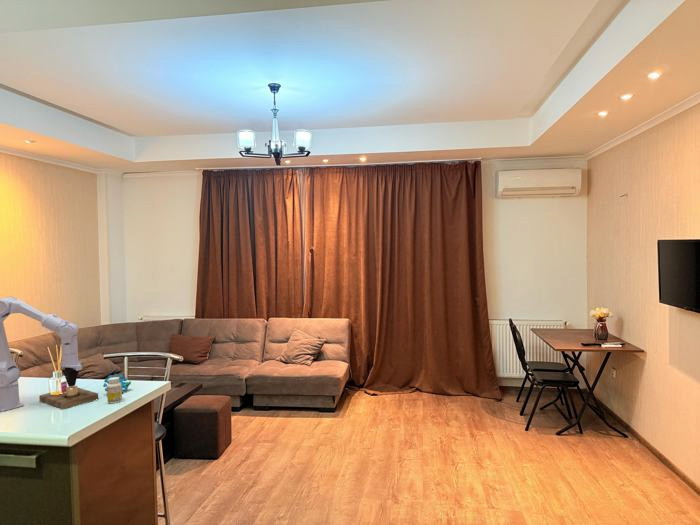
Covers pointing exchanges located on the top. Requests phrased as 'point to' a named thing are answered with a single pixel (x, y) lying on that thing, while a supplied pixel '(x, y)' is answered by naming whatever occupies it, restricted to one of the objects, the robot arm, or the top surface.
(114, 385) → the supplement bottle
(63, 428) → the top surface
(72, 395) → the cylinder
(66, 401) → the jig plate
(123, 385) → the gear
